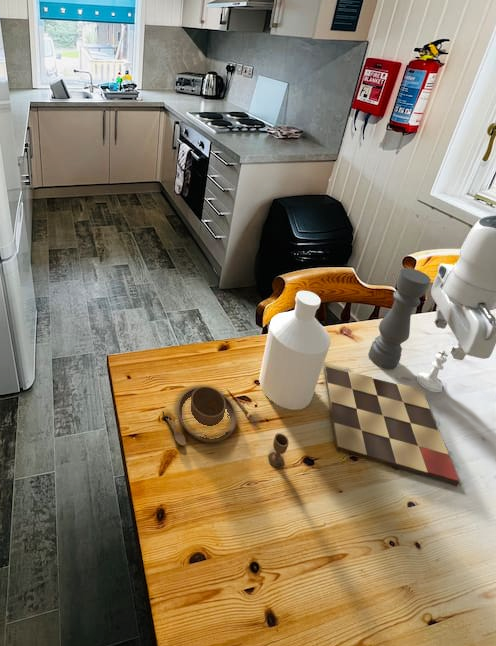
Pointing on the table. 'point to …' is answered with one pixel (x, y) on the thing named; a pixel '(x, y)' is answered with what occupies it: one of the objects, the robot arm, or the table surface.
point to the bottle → (294, 354)
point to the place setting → (219, 419)
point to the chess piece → (433, 374)
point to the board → (387, 425)
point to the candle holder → (398, 318)
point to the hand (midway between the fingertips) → (447, 340)
